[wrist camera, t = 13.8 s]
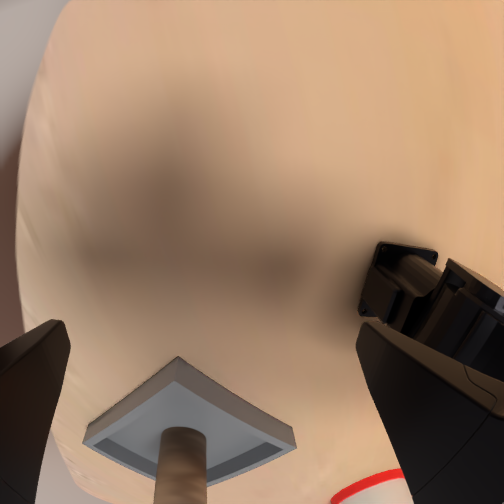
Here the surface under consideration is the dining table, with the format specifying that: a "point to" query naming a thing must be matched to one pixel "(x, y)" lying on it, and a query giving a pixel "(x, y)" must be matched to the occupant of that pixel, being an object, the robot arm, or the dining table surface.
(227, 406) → the tray
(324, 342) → the dining table surface
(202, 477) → the brown upright cylinder
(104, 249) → the dining table surface
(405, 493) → the container
